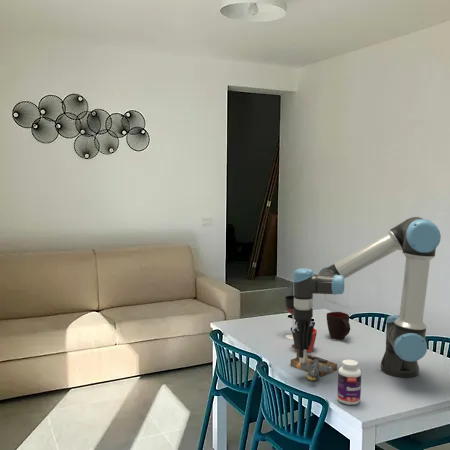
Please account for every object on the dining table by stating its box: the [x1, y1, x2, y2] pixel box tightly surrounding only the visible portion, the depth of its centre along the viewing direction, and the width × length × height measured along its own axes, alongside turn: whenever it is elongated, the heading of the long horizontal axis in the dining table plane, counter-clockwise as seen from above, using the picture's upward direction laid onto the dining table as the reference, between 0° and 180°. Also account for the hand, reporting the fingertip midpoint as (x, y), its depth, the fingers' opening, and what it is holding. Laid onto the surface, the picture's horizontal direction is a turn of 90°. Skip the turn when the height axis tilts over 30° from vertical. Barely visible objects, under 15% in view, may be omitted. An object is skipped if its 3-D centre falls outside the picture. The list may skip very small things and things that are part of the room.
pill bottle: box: [336, 359, 362, 406], centre depth 182 cm, size 8×8×14 cm
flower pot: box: [295, 328, 318, 354], centre depth 235 cm, size 11×11×10 cm
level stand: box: [290, 343, 338, 377], centre depth 214 cm, size 16×11×9 cm
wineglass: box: [284, 295, 295, 340], centre depth 253 cm, size 8×9×20 cm
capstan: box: [295, 359, 334, 382], centre depth 201 cm, size 14×14×6 cm
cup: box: [326, 311, 351, 341], centre depth 250 cm, size 10×14×12 cm
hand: (302, 364), depth 204 cm, fingers closed
